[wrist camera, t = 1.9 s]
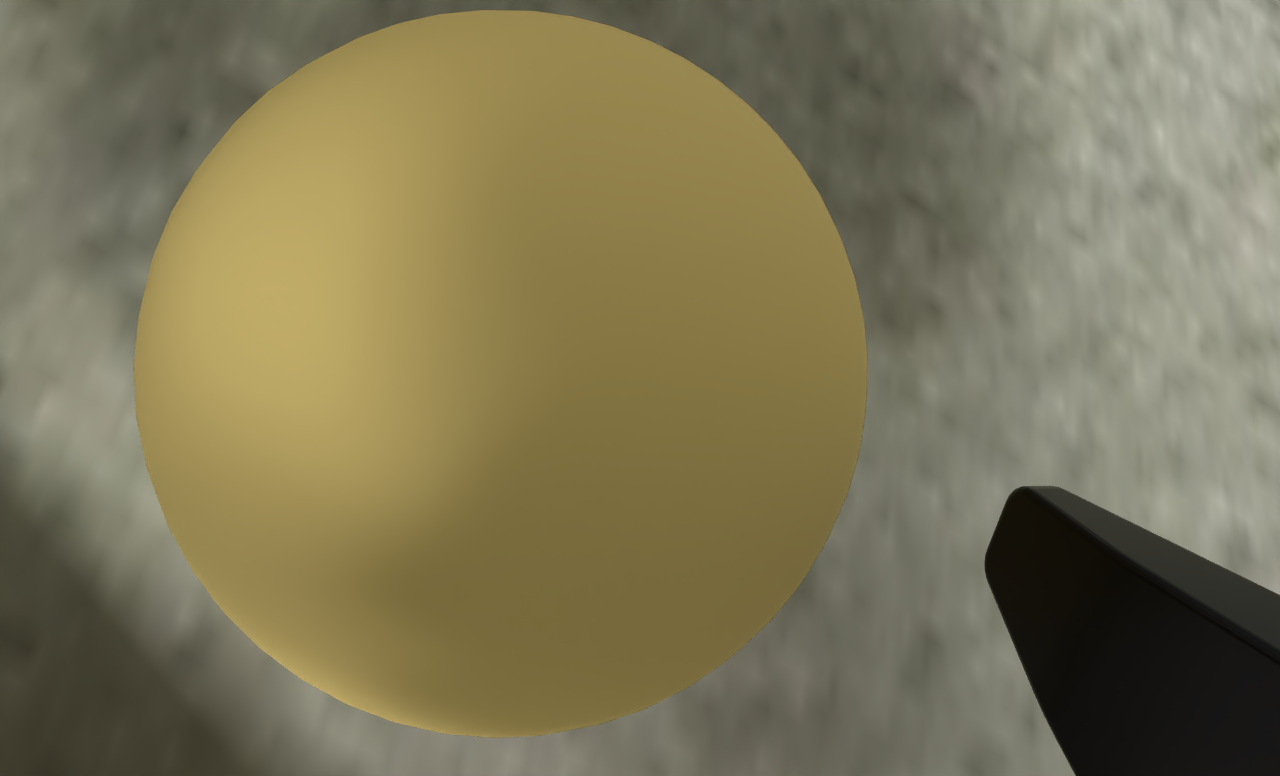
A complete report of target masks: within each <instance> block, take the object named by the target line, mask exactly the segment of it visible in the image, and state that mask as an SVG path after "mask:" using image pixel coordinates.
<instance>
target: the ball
mask: <svg viewBox="0 0 1280 776" xmlns="http://www.w3.org/2000/svg"><path fill="white" fill-rule="evenodd" d="M867 359H868V357H867V347H866V337H865V327H864V317H863V313H862V308H861V304H860V299H859V294H858V290H857V285H856V281H855V277H854V274H853V271H852V268H851V266H850V263H849V260H848V257H847V254H846V251H845V248H844V245H843V243H842V240H841V238H840V235H839V233H838V231H837V229H836V226H835V224H834V222H833V220H832V218H831V216H830V214H829V212H828V210H827V208H826V206H825V204H824V202H823V199H822V197H821V195H820V194H819V192H818V191H817V189H816V187H815V186H814V184H813V183H812V181H811V180H810V178H809V176H808V175H807V173H806V172H805V170H804V168H803V167H802V165H801V164H800V162H799V161H798V160H797V158H796V157H795V156H794V155H793V153H792V152H791V151H790V150H789V148H788V147H787V146H786V145H785V143H784V142H783V141H782V140H781V138H780V137H779V136H778V135H777V133H776V132H775V131H774V130H773V129H772V128H771V127H770V126H769V125H768V124H767V123H766V122H765V121H764V120H763V119H762V118H761V117H760V116H759V115H758V114H757V113H756V112H755V111H754V110H753V109H752V108H751V107H750V106H749V105H748V104H747V103H746V102H744V101H743V100H742V99H741V98H740V97H738V96H737V95H736V94H735V93H733V92H732V91H731V90H730V89H729V88H727V87H726V86H725V85H724V84H722V83H721V82H720V81H719V80H717V79H716V78H714V77H713V76H711V75H710V74H708V73H707V72H705V71H704V70H702V69H700V68H699V67H697V66H696V65H694V64H693V63H691V62H690V61H688V60H687V59H685V58H683V57H681V56H679V55H677V54H675V53H673V52H671V51H669V50H667V49H665V48H663V47H661V46H659V45H658V44H656V43H654V42H652V41H650V40H647V39H644V38H642V37H639V36H636V35H634V34H631V33H628V32H626V31H623V30H620V29H618V28H615V27H613V26H609V25H605V24H601V23H597V22H593V21H589V20H585V19H581V18H577V17H573V16H566V15H559V14H552V13H545V12H537V11H511V10H478V11H467V12H457V13H446V14H438V15H434V16H429V17H425V18H420V19H416V20H411V21H407V22H402V23H398V24H395V25H392V26H389V27H387V28H384V29H381V30H378V31H376V32H373V33H370V34H367V35H364V36H362V37H359V38H357V39H355V40H353V41H351V42H349V43H347V44H345V45H343V46H341V47H339V48H337V49H335V50H333V51H331V52H329V53H327V54H325V55H324V56H322V57H320V58H318V59H316V60H314V61H312V62H310V63H309V64H307V65H305V66H304V67H302V68H301V69H299V70H298V71H296V72H295V73H293V74H292V75H291V76H289V77H288V78H286V79H285V80H283V81H282V82H281V83H279V84H278V85H276V86H275V87H273V88H272V89H271V90H269V91H268V92H267V93H266V94H265V95H263V96H262V97H261V98H260V99H259V100H258V101H257V102H256V103H255V104H254V105H253V106H252V107H251V108H249V109H248V110H247V111H246V112H245V113H244V114H243V115H242V116H241V117H240V118H239V119H238V120H237V121H235V123H234V124H233V125H232V126H231V127H230V129H229V130H228V131H227V132H226V134H225V135H224V136H223V137H222V139H221V140H220V141H219V142H218V143H217V145H216V146H215V147H214V148H213V150H212V151H211V152H210V153H209V155H208V156H207V157H206V158H205V160H204V161H203V162H202V164H201V165H200V166H199V168H198V169H197V170H196V172H195V173H194V175H193V176H192V178H191V180H190V182H189V183H188V185H187V187H186V188H185V190H184V192H183V193H182V195H181V197H180V198H179V200H178V202H177V203H176V205H175V207H174V208H173V210H172V212H171V214H170V216H169V219H168V221H167V224H166V226H165V229H164V231H163V234H162V236H161V238H160V241H159V243H158V246H157V248H156V251H155V253H154V256H153V259H152V263H151V267H150V271H149V275H148V279H147V284H146V288H145V292H144V296H143V300H142V304H141V309H140V313H139V318H138V326H137V337H136V348H135V359H134V383H135V401H136V418H137V423H138V428H139V432H140V437H141V442H142V447H143V452H144V456H145V461H146V466H147V470H148V473H149V476H150V479H151V481H152V484H153V487H154V490H155V492H156V495H157V498H158V500H159V503H160V506H161V509H162V511H163V514H164V517H165V519H166V522H167V525H168V527H169V529H170V531H171V533H172V534H173V536H174V538H175V540H176V542H177V544H178V545H179V547H180V549H181V551H182V553H183V555H184V556H185V558H186V560H187V562H188V564H189V566H190V567H191V569H192V571H193V572H194V574H195V575H196V576H197V578H198V579H199V580H200V582H201V583H202V584H203V586H204V587H205V588H206V590H207V591H208V592H209V594H210V595H211V596H212V598H213V599H214V600H215V602H216V603H217V604H218V606H219V607H220V608H221V610H222V611H223V612H224V613H225V614H226V615H227V616H228V617H229V618H230V619H231V620H232V621H233V622H234V623H235V624H236V625H237V626H238V627H239V628H240V629H241V630H242V631H243V632H244V633H245V634H246V635H247V636H248V637H249V638H250V639H251V640H252V641H253V642H254V643H255V644H256V645H257V646H258V647H259V648H260V649H261V650H263V651H264V652H265V653H267V654H268V655H269V656H271V657H272V658H273V659H275V660H276V661H277V662H279V663H280V664H281V665H283V666H284V667H285V668H287V669H288V670H289V671H291V672H292V673H293V674H295V675H296V676H297V677H299V678H300V679H302V680H304V681H305V682H307V683H309V684H311V685H313V686H314V687H316V688H318V689H320V690H322V691H323V692H325V693H327V694H329V695H331V696H333V697H334V698H336V699H338V700H340V701H342V702H343V703H345V704H348V705H350V706H353V707H355V708H358V709H361V710H363V711H366V712H368V713H371V714H374V715H376V716H379V717H382V718H384V719H387V720H389V721H392V722H395V723H400V724H404V725H408V726H413V727H417V728H421V729H426V730H430V731H434V732H439V733H443V734H454V735H466V736H477V737H488V738H500V737H520V736H540V735H547V734H552V733H557V732H562V731H567V730H573V729H578V728H583V727H588V726H594V725H599V724H602V723H605V722H608V721H611V720H614V719H617V718H620V717H623V716H626V715H629V714H632V713H635V712H638V711H640V710H643V709H646V708H648V707H650V706H652V705H654V704H656V703H658V702H660V701H662V700H664V699H666V698H668V697H670V696H672V695H674V694H676V693H678V692H680V691H682V690H684V689H686V688H688V687H689V686H691V685H692V684H694V683H695V682H697V681H698V680H699V679H701V678H702V677H704V676H705V675H707V674H708V673H710V672H711V671H712V670H714V669H715V668H717V667H718V666H720V665H721V664H723V663H724V662H725V661H727V660H728V659H729V658H730V657H732V656H733V655H734V654H735V653H736V652H738V651H739V650H740V649H741V648H742V647H743V646H744V645H745V644H746V643H747V642H748V641H749V640H751V639H752V638H753V637H754V636H755V635H756V634H757V633H758V632H759V631H760V630H761V629H763V628H764V627H765V626H766V625H767V624H768V623H769V622H770V621H771V620H772V619H773V618H774V616H775V615H776V614H777V613H778V612H779V610H780V609H781V608H782V607H783V606H784V604H785V603H786V602H787V601H788V599H789V598H790V597H791V596H792V595H793V593H794V592H795V591H796V590H797V589H798V587H799V586H800V584H801V583H802V581H803V580H804V578H805V576H806V575H807V573H808V571H809V570H810V568H811V567H812V565H813V563H814V562H815V560H816V558H817V557H818V555H819V554H820V552H821V550H822V549H823V547H824V545H825V543H826V541H827V539H828V537H829V535H830V533H831V530H832V528H833V526H834V524H835V521H836V519H837V517H838V515H839V512H840V510H841V508H842V506H843V503H844V501H845V499H846V497H847V494H848V490H849V487H850V484H851V480H852V477H853V473H854V470H855V466H856V463H857V460H858V456H859V451H860V444H861V438H862V431H863V425H864V419H865V411H866V396H867Z"/></svg>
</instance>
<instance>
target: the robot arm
mask: <svg viewBox="0 0 1280 776" xmlns="http://www.w3.org/2000/svg"><path fill="white" fill-rule="evenodd" d="M985 573H986V578H987V581H988V584H989V586H990V588H991V591H992V593H993V596H994V598H995V600H996V603H997V605H998V608H999V610H1000V612H1001V615H1002V617H1003V620H1004V622H1005V624H1006V627H1007V629H1008V632H1009V634H1010V636H1011V639H1012V641H1013V644H1014V646H1015V648H1016V651H1017V653H1018V656H1019V658H1020V660H1021V663H1022V665H1023V668H1024V670H1025V672H1026V675H1027V677H1028V680H1029V682H1030V684H1031V687H1032V689H1033V692H1034V694H1035V696H1036V698H1037V701H1038V703H1039V705H1040V707H1041V710H1042V712H1043V714H1044V716H1045V718H1046V720H1047V722H1048V724H1049V726H1050V728H1051V730H1052V732H1053V734H1054V736H1055V738H1056V740H1057V742H1058V744H1059V745H1060V747H1061V749H1062V751H1063V753H1064V755H1065V757H1066V758H1067V760H1068V762H1069V764H1070V766H1071V768H1072V770H1073V772H1074V773H1075V775H1076V776H1280V595H1279V594H1277V593H1275V592H1272V591H1270V590H1268V589H1266V588H1264V587H1262V586H1260V585H1258V584H1256V583H1254V582H1252V581H1250V580H1248V579H1246V578H1244V577H1242V576H1240V575H1238V574H1236V573H1234V572H1232V571H1230V570H1228V569H1226V568H1223V567H1221V566H1219V565H1217V564H1215V563H1213V562H1211V561H1209V560H1207V559H1205V558H1203V557H1201V556H1199V555H1197V554H1195V553H1193V552H1191V551H1189V550H1187V549H1185V548H1183V547H1181V546H1179V545H1177V544H1174V543H1172V542H1170V541H1168V540H1166V539H1164V538H1162V537H1160V536H1158V535H1156V534H1154V533H1152V532H1150V531H1148V530H1146V529H1144V528H1142V527H1140V526H1138V525H1136V524H1134V523H1132V522H1130V521H1128V520H1125V519H1123V518H1121V517H1119V516H1117V515H1115V514H1113V513H1111V512H1109V511H1107V510H1105V509H1103V508H1101V507H1099V506H1097V505H1095V504H1093V503H1091V502H1089V501H1087V500H1085V499H1083V498H1081V497H1079V496H1077V495H1074V494H1072V493H1070V492H1068V491H1066V490H1064V489H1062V488H1059V487H1055V486H1022V487H1019V488H1017V489H1015V490H1014V491H1013V492H1012V493H1011V494H1010V495H1009V497H1008V499H1007V501H1006V503H1005V506H1004V508H1003V511H1002V513H1001V516H1000V518H999V521H998V523H997V526H996V528H995V531H994V533H993V536H992V539H991V541H990V544H989V546H988V549H987V552H986V555H985Z"/></svg>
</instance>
